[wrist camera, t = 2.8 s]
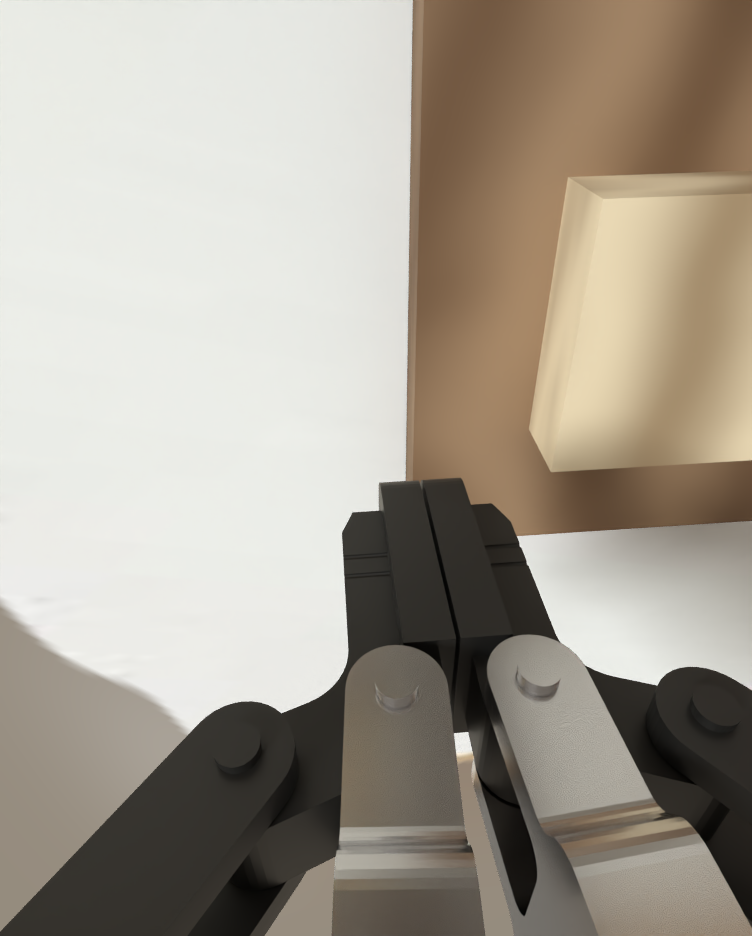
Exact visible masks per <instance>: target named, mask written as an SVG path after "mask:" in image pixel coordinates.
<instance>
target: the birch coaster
mask: <svg viewBox="0 0 752 936" xmlns="http://www.w3.org/2000/svg"><path fill="white" fill-rule="evenodd" d="M529 430H530V432H531V434H532V436H533V438H534V440H535V442H536V444H537V446H538V448H539V450H540V452H541V454H542V456H543V458H544V460H545V462H546V464H547V465H548V467H549V469H550V471H551V472H563V471H580V470H597V469H613V468H630V467H647V466H664V465H680V464H697V463H714V462H731V461H747V460H752V171H729V172H700V173H672V174H643V175H614V176H586V177H568V181H567V187H566V193H565V200H564V206H563V213H562V219H561V226H560V232H559V238H558V245H557V251H556V258H555V264H554V271H553V277H552V283H551V290H550V296H549V303H548V309H547V316H546V322H545V328H544V335H543V341H542V348H541V354H540V361H539V367H538V373H537V380H536V386H535V393H534V399H533V406H532V412H531V418H530V425H529Z"/></svg>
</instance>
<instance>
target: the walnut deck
mask: <svg viewBox="0 0 752 936" xmlns="http://www.w3.org/2000/svg"><path fill="white" fill-rule="evenodd" d="M729 171H752V0H413V32H412V99H411V167H410V234H409V301H408V368H407V436H406V481H416V480H419V482H421V480H429V479H445V478H462V480H463V482H464V485H465V488H466V491H467V494H468V497H469V500H470V503H471V505H473V504H488V503H492V504H493V505H494V506H495V507H496V508H497V509H498V510H499V511H500V512H502V513H503V514H504V515H505V516H506V517H507V518H508V519H509V520H510V521H511V523H512V526H513V528H514V531H515V533H516V536H524V535H539V534H555V533H570V532H586V531H601V530H616V529H632V528H647V527H663V526H678V525H694V524H709V523H724V522H740V521H752V460H747V461H731V462H714V463H697V464H680V465H664V466H647V467H630V468H613V469H597V470H580V471H563V472H551V471H550V469H549V467H548V465H547V464H546V462H545V460H544V458H543V456H542V454H541V452H540V450H539V448H538V446H537V444H536V442H535V440H534V438H533V436H532V434H531V432H530V430H529V425H530V418H531V412H532V406H533V399H534V393H535V386H536V380H537V373H538V367H539V361H540V354H541V348H542V341H543V335H544V328H545V322H546V316H547V309H548V303H549V296H550V290H551V283H552V277H553V271H554V264H555V258H556V251H557V245H558V238H559V232H560V226H561V219H562V213H563V206H564V200H565V193H566V187H567V181H568V177H586V176H614V175H643V174H672V173H700V172H729Z"/></svg>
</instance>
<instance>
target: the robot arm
mask: <svg viewBox="0 0 752 936" xmlns="http://www.w3.org/2000/svg"><path fill="white" fill-rule="evenodd" d="M342 540H343V557H344V576H345V594H346V612H347V630H348V648H349V651H348V660H347V665H346V667H345V669H344V672H343V674H342V675H341V677H340V679H339V680H338V681H337V682H336V684H335V685H334V686H333V687H332V688H331V689H330V690H328V691H327V692H326V693H325V694H323V695H322V696H320V697H319V698H317V699H315V700H313V701H311V702H309V703H306V704H304V705H301V706H299V707H297V708H294V709H292V710H289V711H287V712H284V713H282V714H281V713H280V712H279V711H277V710H276V709H275V708H273V707H271V706H269V705H266V704H263V703H259V702H238V703H233V704H230V705H227V706H224V707H222V708H220V709H218V710H216V711H214V712H213V713H211V714H210V715H208V716H207V717H206V718H205V719H204V720H202V721H201V722H200V723H199V724H198V725H197V726H196V727H195V728H194V729H193V730H192V732H191V733H190V734H189V735H188V736H187V737H186V738H185V739H184V740H183V741H182V742H181V743H180V744H179V745H178V746H177V747H176V748H175V749H174V750H173V751H172V753H171V754H170V755H169V756H168V757H167V758H166V759H165V760H164V761H163V762H162V763H161V764H160V765H159V766H158V767H157V768H156V769H155V770H154V771H153V773H151V774H150V776H149V777H148V778H147V779H146V780H145V781H144V782H143V783H142V784H141V785H140V786H139V787H138V788H137V789H136V790H135V791H134V792H133V793H132V794H131V795H130V796H129V798H128V799H127V800H126V801H125V802H124V803H123V804H122V805H121V806H120V807H119V808H118V809H117V810H116V811H115V812H114V813H113V814H112V815H111V816H110V818H108V819H107V821H106V822H105V823H104V824H103V825H102V826H101V827H100V828H99V829H98V830H97V831H96V832H95V833H94V834H93V835H92V836H91V837H90V838H89V839H88V840H87V842H86V843H85V844H84V845H83V846H82V847H81V848H80V849H79V850H78V851H77V852H76V853H75V854H74V855H73V856H72V857H71V858H70V859H69V860H68V861H67V862H66V864H65V865H64V866H63V867H62V868H61V869H60V870H59V871H58V872H57V873H56V874H55V875H54V876H53V877H52V878H51V879H50V880H49V881H48V882H47V883H46V884H45V885H44V887H43V888H42V889H41V890H40V891H39V892H38V893H37V894H36V895H35V896H34V897H33V898H32V899H31V900H30V901H29V902H28V903H27V904H26V905H25V906H24V907H23V909H22V910H21V911H20V912H19V913H18V914H17V915H16V916H15V917H14V918H13V919H12V920H11V921H10V922H9V923H8V924H7V925H6V926H5V927H4V928H3V930H2V931H1V932H0V936H264V935H265V934H266V933H267V931H268V930H269V928H270V927H271V925H272V923H273V922H274V920H275V919H276V918H277V916H278V914H279V913H280V912H281V910H282V909H283V907H284V905H285V904H286V902H287V901H288V899H289V898H290V896H291V895H292V893H293V892H294V890H295V889H296V887H297V886H298V884H299V883H300V881H301V880H302V878H303V876H304V874H305V873H306V871H308V870H310V869H311V868H313V867H316V866H318V865H319V864H322V863H324V862H325V861H327V860H330V859H331V858H333V857H335V856H336V859H335V872H334V892H333V915H332V936H485V930H484V922H483V914H482V906H481V898H480V891H479V883H478V875H477V869H476V864H475V859H474V854H473V851H472V848H471V845H470V844H468V841H467V837H466V832H465V825H464V817H463V809H462V801H461V792H460V783H459V775H458V767H457V758H456V749H455V741H454V733H460V732H469V737H470V742H471V746H472V751H473V755H474V759H473V766H472V781H473V786H474V790H475V793H476V797H477V800H478V803H479V807H480V811H481V814H482V817H483V821H484V825H485V828H486V832H487V835H488V839H489V842H490V846H491V849H492V853H493V856H494V860H495V863H496V867H497V870H498V874H499V877H500V881H501V884H502V888H503V891H504V895H505V898H506V902H507V905H508V909H509V912H510V917H511V921H512V926H513V932H514V936H752V690H750V689H749V688H747V687H745V686H744V685H742V684H740V683H739V682H737V681H735V680H734V679H732V678H730V677H728V676H726V675H724V674H721V673H719V672H717V671H713V670H710V669H706V668H699V667H684V668H679V669H676V670H673V671H671V672H669V673H667V674H666V675H665V676H664V677H663V678H662V679H661V681H660V682H659V684H658V686H656V685H651V684H646V683H642V682H637V681H632V680H627V679H622V678H617V677H613V676H609V675H606V674H603V673H600V672H597V671H595V670H593V669H591V668H589V667H587V666H585V665H584V664H583V662H582V661H581V660H580V658H579V657H578V656H577V655H576V654H575V653H574V652H573V651H572V650H570V649H569V648H568V647H566V646H565V645H563V644H562V643H560V641H559V640H558V638H557V636H556V634H555V632H554V629H553V627H552V624H551V622H550V619H549V617H548V614H547V611H546V609H545V606H544V604H543V601H542V599H541V596H540V594H539V591H538V589H537V586H536V584H535V581H534V579H533V576H532V574H531V571H530V569H529V566H527V564H526V559H525V556H524V554H523V551H522V549H521V547H520V546H519V541H518V538H517V536H516V533H515V531H514V528H513V526H512V523H511V521H510V520H509V519H508V518H507V517H506V516H505V515H504V514H503V513H502V512H500V511H499V510H498V509H497V508H496V507H495V506H494V505H493V504H492V503H488V504H473V505H471V503H470V500H469V497H468V494H467V491H466V488H465V485H464V482H463V480H462V478H445V479H429V480H421V482H419V480H416V481H400V482H384V483H379V511H369V512H354V513H352V515H351V517H350V519H349V521H348V523H347V525H346V526H345V528H344V530H343V532H342Z"/></svg>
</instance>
